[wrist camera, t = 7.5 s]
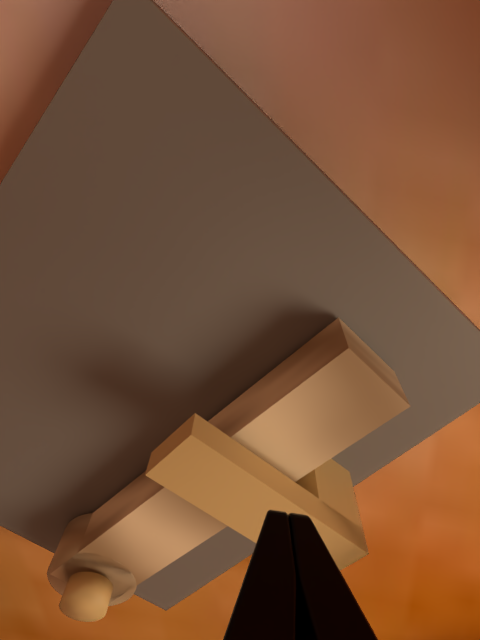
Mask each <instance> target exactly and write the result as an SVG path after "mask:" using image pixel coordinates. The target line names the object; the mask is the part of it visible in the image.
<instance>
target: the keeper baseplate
mask: <svg viewBox="0 0 480 640" xmlns="http://www.w3.org/2000/svg"><path fill="white" fill-rule="evenodd" d="M338 317H339V318H340V319H341V320H342V321H343V322H344V323H345V324H346V325H347V326H348V327H349V328H350V329H351V330H352V331H353V332H354V333H355V334H356V335H357V336H358V337H359V338H360V339H361V340H362V341H363V342H364V343H365V344H366V345H368V346H369V347H370V348H371V349H372V350H373V351H374V352H375V353H376V354H377V355H378V356H379V357H380V358H381V359H382V360H383V361H384V362H385V363H386V364H387V365H388V366H389V367H390V368H391V369H392V370H393V371H394V372H395V374H396V376H397V378H398V381H399V383H400V385H401V387H402V389H403V391H404V393H405V396H406V398H407V400H408V402H409V404H410V407H409V408H407V409H406V410H404V411H403V412H401V413H400V414H398V415H397V416H395V417H393V418H392V419H390V420H389V421H387V422H386V423H384V424H383V425H381V426H380V427H378V428H377V429H375V430H374V431H372V432H371V433H369V434H367V435H366V436H364V437H363V438H361V439H360V440H358V441H357V442H355V443H354V444H352V445H351V446H349V447H348V448H346V449H345V450H343V451H342V452H340V453H338V454H337V455H335V456H334V457H332V458H331V459H329V460H328V461H326V462H325V463H323V464H322V465H320V466H319V467H317V468H316V469H314V470H313V471H311V472H309V473H308V474H306V475H305V476H303V477H302V478H300V479H299V480H297V481H296V482H294V481H293V480H291V479H290V478H288V477H287V476H285V475H284V474H282V473H281V472H280V471H278V470H277V469H275V468H274V467H272V466H271V465H269V464H268V463H267V462H265V461H264V460H262V459H261V458H259V457H258V456H256V455H255V454H254V453H252V452H251V451H249V450H248V449H246V448H245V447H243V446H242V445H241V444H239V443H238V442H236V441H235V440H233V439H232V438H230V437H229V436H228V435H226V434H225V433H223V432H222V431H220V430H219V429H218V428H216V427H215V426H213V425H212V424H210V423H209V422H208V421H209V420H210V419H212V418H213V417H214V416H215V415H217V414H218V413H219V412H220V411H222V410H223V409H224V408H225V407H227V406H228V405H229V404H230V403H232V402H233V401H234V400H235V399H237V398H238V397H239V396H240V395H242V394H243V393H244V392H245V391H247V390H248V389H249V388H250V387H252V386H253V385H254V384H255V383H257V382H258V381H259V380H260V379H262V378H263V377H264V376H266V375H267V374H268V373H269V372H271V371H272V370H273V369H274V368H276V367H277V366H278V365H279V364H281V363H282V362H283V361H284V360H286V359H287V358H288V357H289V356H291V355H292V354H293V353H294V352H296V351H297V350H298V349H299V348H301V347H302V346H303V345H304V344H306V343H307V342H308V341H309V340H311V339H312V338H313V337H314V336H316V335H317V334H318V333H319V332H321V331H322V330H323V329H325V328H326V327H327V326H328V325H330V324H331V323H332V322H333V321H335V320H336V319H337V318H338ZM479 403H480V330H479V329H478V328H477V327H476V326H475V325H474V324H473V323H472V322H471V321H470V319H469V318H468V317H467V316H466V315H465V314H464V313H463V312H462V311H461V310H460V309H459V308H458V307H457V306H456V305H455V304H454V303H453V302H452V301H451V300H450V299H449V298H448V297H447V296H446V295H445V294H444V293H443V292H442V291H441V290H440V289H439V288H438V287H437V286H436V285H435V284H434V283H433V282H432V281H431V280H430V279H429V278H428V277H427V276H426V275H425V274H424V273H423V272H422V271H421V270H420V269H419V268H418V267H417V266H416V265H415V264H414V263H413V262H412V261H411V260H410V259H409V258H408V257H407V256H406V255H405V254H404V253H403V252H402V251H401V250H400V249H399V248H398V247H397V246H396V245H395V244H394V243H393V242H392V241H391V240H390V239H389V238H388V237H387V236H386V235H385V234H384V233H383V232H382V231H381V230H380V229H379V228H378V227H377V226H376V225H375V224H374V223H373V222H372V221H371V220H370V219H369V218H368V217H367V216H366V215H365V214H364V213H363V212H362V211H361V210H360V209H359V208H358V207H357V206H356V205H355V204H354V203H353V202H352V201H351V200H350V199H349V197H348V196H347V195H346V194H345V193H344V192H343V191H342V190H341V189H340V188H339V187H338V186H337V185H336V184H335V183H334V182H333V181H332V180H331V179H330V178H329V177H328V176H327V175H326V174H325V173H324V172H323V171H322V170H321V169H320V168H319V167H318V166H317V165H316V164H315V163H314V162H313V161H312V160H311V159H310V158H309V157H308V156H307V155H306V154H305V153H304V152H303V151H302V150H301V149H300V148H299V147H298V146H297V145H296V144H295V143H294V142H293V141H292V140H291V139H290V138H289V137H288V136H287V135H286V134H285V133H284V132H283V131H282V130H281V129H280V128H279V127H278V126H277V125H276V124H275V123H274V122H273V121H272V120H271V119H270V118H269V117H268V116H267V115H266V114H265V113H264V112H263V111H262V110H261V109H260V108H259V107H258V106H257V105H256V104H255V103H254V102H253V101H252V100H251V99H250V98H249V97H248V96H247V95H246V94H245V93H244V92H243V91H242V90H241V89H240V88H239V87H238V86H237V85H236V84H235V83H234V82H233V81H232V80H231V79H230V78H229V77H228V75H227V74H226V73H225V72H224V71H223V70H222V69H221V68H220V67H219V66H218V65H217V64H216V63H215V62H214V61H213V60H212V59H211V58H210V57H209V56H208V55H207V54H206V53H205V52H204V51H203V50H202V49H201V48H200V47H199V46H198V45H197V44H196V43H195V42H194V41H193V40H192V39H191V38H190V37H189V36H188V35H187V34H186V33H185V32H184V31H183V30H182V29H181V28H180V27H179V26H178V25H177V24H176V23H175V22H174V21H173V20H172V19H171V18H170V17H169V16H168V15H167V14H166V13H165V12H164V11H163V10H162V9H161V8H160V7H159V6H158V5H157V4H156V3H155V2H154V1H153V0H113V1H112V3H111V5H110V6H109V8H108V10H107V11H106V13H105V14H104V16H103V18H102V19H101V21H100V23H99V24H98V26H97V28H96V29H95V31H94V32H93V34H92V36H91V37H90V39H89V41H88V42H87V44H86V45H85V47H84V49H83V50H82V52H81V54H80V55H79V57H78V58H77V60H76V62H75V63H74V65H73V67H72V68H71V70H70V72H69V73H68V75H67V76H66V78H65V80H64V81H63V83H62V85H61V86H60V88H59V89H58V91H57V93H56V94H55V96H54V98H53V99H52V101H51V103H50V104H49V106H48V107H47V109H46V111H45V112H44V114H43V116H42V117H41V119H40V120H39V122H38V124H37V125H36V127H35V129H34V130H33V132H32V133H31V135H30V137H29V138H28V140H27V142H26V143H25V145H24V147H23V148H22V150H21V151H20V153H19V155H18V156H17V158H16V160H15V161H14V163H13V164H12V166H11V168H10V169H9V171H8V173H7V174H6V176H5V178H4V179H3V181H2V182H1V184H0V526H2V527H4V528H6V529H8V530H10V531H12V532H14V533H16V534H18V535H20V536H22V537H24V538H26V539H28V540H29V541H31V542H33V543H35V544H37V545H39V546H41V547H43V548H45V549H47V550H49V551H51V552H53V553H55V552H56V549H57V547H58V545H59V542H60V540H61V538H62V535H63V533H64V530H65V528H66V526H67V525H68V523H69V522H70V521H71V520H73V519H74V518H76V517H78V516H81V515H84V514H89V513H93V512H95V511H96V510H97V509H99V508H100V507H101V506H102V505H104V504H105V503H106V502H107V501H109V500H110V499H111V498H112V497H114V496H115V495H116V494H117V493H119V492H120V491H121V490H122V489H124V488H125V487H126V486H127V485H129V484H130V483H131V482H132V481H134V480H135V479H136V478H137V477H139V476H140V475H141V474H142V473H144V472H145V471H146V473H145V475H146V476H147V477H149V478H150V479H152V480H154V481H155V482H157V483H159V484H160V485H162V486H164V487H165V488H167V489H168V490H170V491H172V492H173V493H175V494H177V495H178V496H180V497H181V498H183V499H185V500H186V501H188V502H190V503H191V504H193V505H194V506H196V507H198V508H199V509H201V510H203V511H204V512H206V513H208V514H209V515H211V516H212V517H214V518H216V519H217V520H219V521H221V522H222V523H224V524H225V525H227V527H225V528H224V529H222V530H221V531H219V532H218V533H216V534H215V535H213V536H212V537H210V538H209V539H207V540H206V541H204V542H203V543H201V544H199V545H198V546H196V547H195V548H193V549H192V550H190V551H189V552H187V553H186V554H184V555H183V556H181V557H180V558H178V559H177V560H175V561H174V562H172V563H170V564H169V565H167V566H166V567H164V568H163V569H161V570H160V571H158V572H157V573H155V574H154V575H152V576H151V577H149V578H148V579H146V580H144V581H143V582H141V583H140V584H138V585H137V587H136V590H135V593H134V594H135V595H137V596H139V597H141V598H143V599H145V600H147V601H149V602H151V603H153V604H155V605H156V606H158V607H160V608H162V609H164V610H168V609H169V608H171V607H172V606H174V605H175V604H177V603H178V602H180V601H181V600H183V599H184V598H186V597H187V596H189V595H190V594H192V593H194V592H195V591H197V590H198V589H200V588H201V587H203V586H204V585H206V584H207V583H209V582H210V581H212V580H213V579H215V578H216V577H218V576H219V575H221V574H222V573H224V572H225V571H227V570H228V569H230V568H231V567H233V566H234V565H236V564H237V563H239V562H240V561H242V560H243V559H245V558H246V557H248V556H249V555H251V554H252V553H253V551H254V548H255V546H256V543H257V540H258V537H259V534H260V531H261V528H262V525H263V522H264V519H265V516H266V513H267V511H268V510H276V511H283V512H286V513H287V514H289V513H297V514H303V515H307V516H309V517H310V518H311V520H312V522H313V523H314V525H315V527H316V529H317V531H318V532H319V534H320V536H321V538H322V540H323V541H324V543H325V545H326V547H327V549H328V550H329V552H330V554H331V556H332V558H333V559H334V561H335V563H336V565H337V567H338V568H339V570H342V569H344V568H345V567H347V566H349V565H351V564H352V563H354V562H356V561H357V560H359V559H361V558H363V557H364V556H366V555H368V554H369V553H368V549H367V545H366V540H365V536H364V532H363V527H362V523H361V519H360V514H359V510H358V506H357V502H356V497H355V493H354V489H353V487H354V486H355V485H357V484H358V483H360V482H361V481H363V480H364V479H366V478H367V477H369V476H370V475H372V474H373V473H375V472H376V471H378V470H379V469H381V468H382V467H384V466H385V465H387V464H388V463H390V462H391V461H393V460H394V459H396V458H397V457H399V456H400V455H402V454H403V453H405V452H406V451H408V450H409V449H411V448H412V447H414V446H415V445H417V444H419V443H420V442H422V441H423V440H425V439H426V438H428V437H429V436H431V435H432V434H434V433H435V432H437V431H438V430H440V429H441V428H443V427H444V426H446V425H447V424H449V423H450V422H452V421H453V420H455V419H456V418H458V417H459V416H461V415H462V414H464V413H465V412H467V411H468V410H470V409H471V408H473V407H474V406H476V405H477V404H479ZM112 590H113V585H112V583H111V582H110V580H108V579H107V578H106V577H104V576H103V575H100V574H98V573H94V572H78V573H75V574H73V575H72V576H71V577H70V578H69V580H68V582H67V585H66V588H65V590H64V593H63V596H62V598H61V601H60V604H59V607H60V609H61V611H62V612H63V613H64V614H65V615H66V616H68V617H70V618H72V619H75V620H78V621H84V622H92V621H97V620H100V619H102V618H103V617H104V616H105V615H106V612H107V608H108V605H109V601H110V598H111V594H112Z"/></svg>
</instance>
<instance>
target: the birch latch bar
mask: <svg viewBox="0 0 480 640" xmlns="http://www.w3.org/2000/svg"><path fill="white" fill-rule="evenodd" d="M409 407H410V404H409V402H408V400H407V398H406V396H405V393H404V391H403V389H402V387H401V385H400V383H399V381H398V378H397V376H396V374H395V372H394V371H393V370H392V369H391V368H390V367H389V366H388V365H387V364H386V363H385V362H384V361H383V360H382V359H381V358H380V357H379V356H378V355H377V354H376V353H375V352H374V351H373V350H372V349H371V348H370V347H369V346H368V345H366V344H365V343H364V342H363V341H362V340H361V339H360V338H359V337H358V336H357V335H356V334H355V333H354V332H353V331H352V330H351V329H350V328H349V327H348V326H347V325H346V324H345V323H344V322H343V321H342V320H341V319H340V318H339V317H338V318H337V319H336V320H335V321H333V322H332V323H331V324H330V325H328V326H327V327H326V328H325V329H323V330H322V331H321V332H319V333H318V334H317V335H316V336H314V337H313V338H312V339H311V340H309V341H308V342H307V343H306V344H304V345H303V346H302V347H301V348H299V349H298V350H297V351H296V352H294V353H293V354H292V355H291V356H289V357H288V358H287V359H286V360H284V361H283V362H282V363H281V364H279V365H278V366H277V367H276V368H274V369H273V370H272V371H271V372H269V373H268V374H267V375H266V376H264V377H263V378H262V379H260V380H259V381H258V382H257V383H255V384H254V385H253V386H252V387H250V388H249V389H248V390H247V391H245V392H244V393H243V394H242V395H240V396H239V397H238V398H237V399H235V400H234V401H233V402H232V403H230V404H229V405H228V406H227V407H225V408H224V409H223V410H222V411H220V412H219V413H218V414H217V415H215V416H214V417H213V418H212V419H210V420H209V421H208V422H209V423H210V424H212V425H213V426H215V427H216V428H218V429H219V430H220V431H222V432H223V433H225V434H226V435H228V436H229V437H230V438H232V439H233V440H235V441H236V442H238V443H239V444H241V445H242V446H243V447H245V448H246V449H248V450H249V451H251V452H252V453H254V454H255V455H256V456H258V457H259V458H261V459H262V460H264V461H265V462H267V463H268V464H269V465H271V466H272V467H274V468H275V469H277V470H278V471H280V472H281V473H282V474H284V475H285V476H287V477H288V478H290V479H291V480H293V481H294V482H296V481H297V480H299V479H300V478H302V477H303V476H305V475H306V474H308V473H309V472H311V471H313V470H314V469H316V468H317V467H319V466H320V465H322V464H323V463H325V462H326V461H328V460H329V459H331V458H332V457H334V456H335V455H337V454H338V453H340V452H342V451H343V450H345V449H346V448H348V447H349V446H351V445H352V444H354V443H355V442H357V441H358V440H360V439H361V438H363V437H364V436H366V435H367V434H369V433H371V432H372V431H374V430H375V429H377V428H378V427H380V426H381V425H383V424H384V423H386V422H387V421H389V420H390V419H392V418H393V417H395V416H397V415H398V414H400V413H401V412H403V411H404V410H406V409H407V408H409ZM145 473H146V471H145V472H144V473H142V474H141V475H140V476H139V477H137V478H136V479H135V480H134V481H132V482H131V483H130V484H129V485H127V486H126V487H125V488H124V489H122V490H121V491H120V492H119V493H117V494H116V495H115V496H114V497H112V498H111V499H110V500H109V501H107V502H106V503H105V504H104V505H102V506H101V507H100V508H99V509H97V510H96V511H95V512H93V513H89V514H84V515H81V516H78V517H76V518H74V519H73V520H71V521H70V522H69V523H68V525H67V526H66V528H65V530H64V533H63V535H62V538H61V540H60V542H59V545H58V547H57V549H56V552H55V554H54V556H53V559H52V561H51V563H50V566H49V568H48V572H47V577H48V580H49V582H50V584H51V585H52V587H53V588H54V589H55V590H56V591H57V592H58V593H60V594H61V595H62V596H63V593H64V590H65V588H66V585H67V582H68V580H69V578H70V577H71V576H72V575H73V574H75V573H78V572H94V573H98V574H100V575H103V576H104V577H106V578H107V579H108V580H110V582H111V583H112V585H113V590H112V594H111V598H110V601H109V605H108V606H112V605H117V604H120V603H122V602H125V601H126V600H128V599H129V598H131V596H132V595H133V594H134V593H135V590H136V587H137V585H138V584H140V583H141V582H143V581H144V580H146V579H148V578H149V577H151V576H152V575H154V574H155V573H157V572H158V571H160V570H161V569H163V568H164V567H166V566H167V565H169V564H170V563H172V562H174V561H175V560H177V559H178V558H180V557H181V556H183V555H184V554H186V553H187V552H189V551H190V550H192V549H193V548H195V547H196V546H198V545H199V544H201V543H203V542H204V541H206V540H207V539H209V538H210V537H212V536H213V535H215V534H216V533H218V532H219V531H221V530H222V529H224V528H225V527H227V525H225V524H224V523H222V522H221V521H219V520H217V519H216V518H214V517H212V516H211V515H209V514H208V513H206V512H204V511H203V510H201V509H199V508H198V507H196V506H194V505H193V504H191V503H190V502H188V501H186V500H185V499H183V498H181V497H180V496H178V495H177V494H175V493H173V492H172V491H170V490H168V489H167V488H165V487H164V486H162V485H160V484H159V483H157V482H155V481H154V480H152V479H150V478H149V477H147V476H146V475H145Z"/></svg>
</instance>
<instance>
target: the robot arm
mask: <svg viewBox="0 0 480 640" xmlns="http://www.w3.org/2000/svg"><path fill="white" fill-rule="evenodd" d="M223 640H378V639H377V637H376V635H375V633H374V632H373V630H372V628H371V626H370V624H369V623H368V621H367V619H366V617H365V615H364V614H363V612H362V610H361V608H360V606H359V605H358V603H357V601H356V599H355V597H354V596H353V594H352V592H351V590H350V588H349V587H348V585H347V583H346V581H345V579H344V578H343V576H342V574H341V572H340V570H339V568H338V567H337V565H336V563H335V561H334V559H333V558H332V556H331V554H330V552H329V550H328V549H327V547H326V545H325V543H324V541H323V540H322V538H321V536H320V534H319V532H318V531H317V529H316V527H315V525H314V523H313V522H312V520H311V518H310V517H309V516H307V515H303V514H297V513H289V514H287V513H286V512H283V511H276V510H268V511H267V513H266V516H265V519H264V522H263V525H262V528H261V531H260V534H259V537H258V540H257V543H256V546H255V548H254V551H253V554H252V557H251V560H250V563H249V566H248V569H247V572H246V575H245V578H244V580H243V583H242V586H241V589H240V592H239V595H238V598H237V601H236V604H235V607H234V610H233V613H232V615H231V618H230V621H229V624H228V627H227V630H226V633H225V636H224V639H223Z"/></svg>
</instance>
